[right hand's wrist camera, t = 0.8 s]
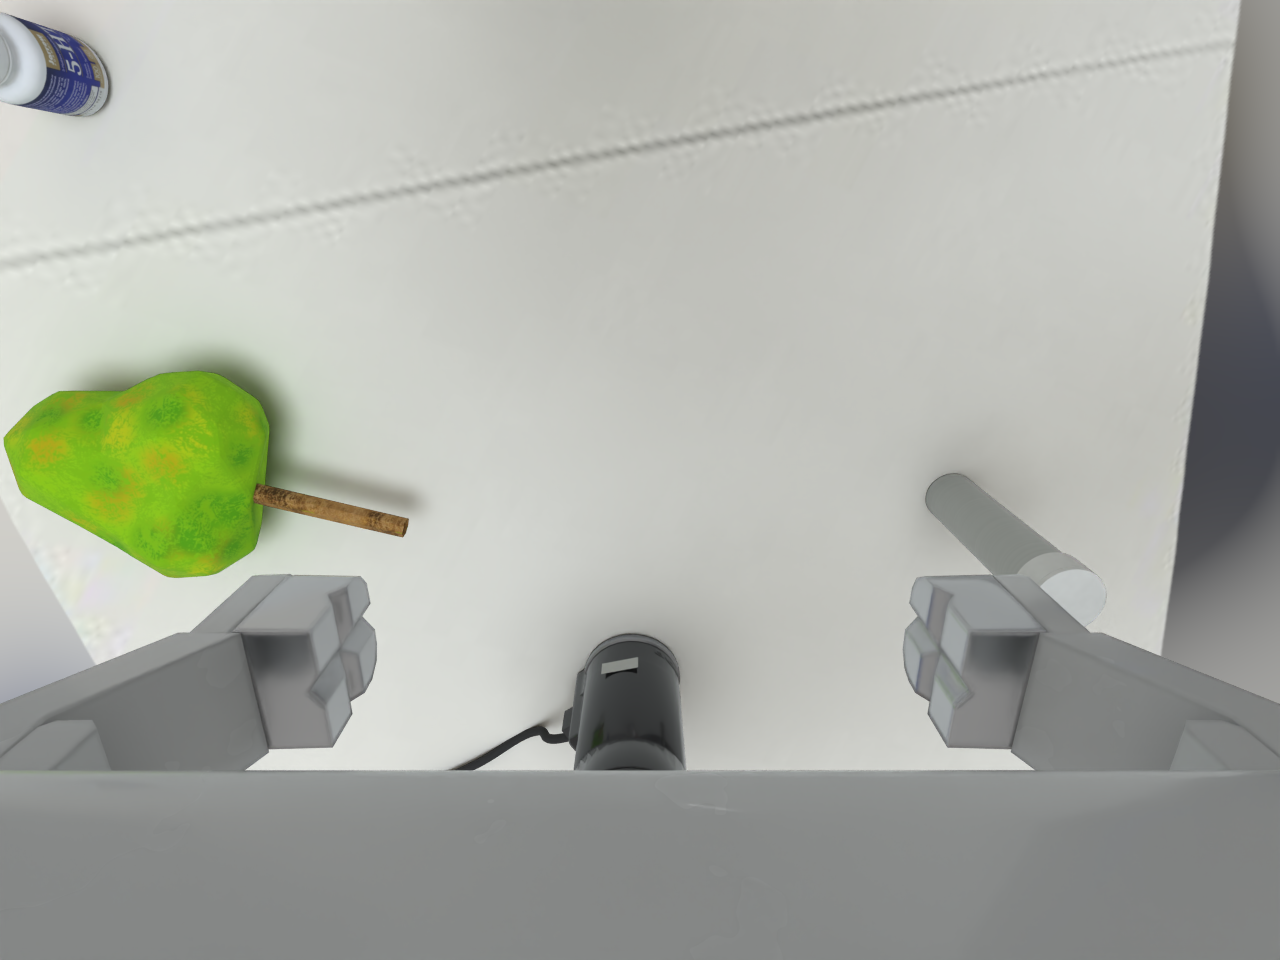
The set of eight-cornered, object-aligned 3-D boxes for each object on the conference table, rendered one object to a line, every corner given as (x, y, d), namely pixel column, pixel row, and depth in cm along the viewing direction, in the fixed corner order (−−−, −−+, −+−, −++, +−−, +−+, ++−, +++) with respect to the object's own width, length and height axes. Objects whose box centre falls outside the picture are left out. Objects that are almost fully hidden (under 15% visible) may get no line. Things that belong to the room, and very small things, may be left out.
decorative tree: (370, 648, 55) (-29, 565, 52) (408, 582, 65) (74, 508, 62) (402, 449, 49) (-50, 338, 46) (439, 409, 59) (68, 314, 55)
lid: (1098, 565, 46) (1122, 584, 44) (1057, 622, 48) (1078, 642, 45) (1037, 542, 45) (1058, 559, 43) (998, 600, 47) (1016, 619, 45)
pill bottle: (125, 78, 50) (21, 49, 41) (86, 133, 51) (-22, 116, 43) (58, 15, 48) (-63, -27, 40) (21, 74, 49) (-104, 44, 41)
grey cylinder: (983, 483, 61) (1112, 582, 44) (957, 524, 62) (1073, 634, 46) (941, 466, 60) (1055, 560, 44) (916, 508, 62) (1018, 614, 45)
